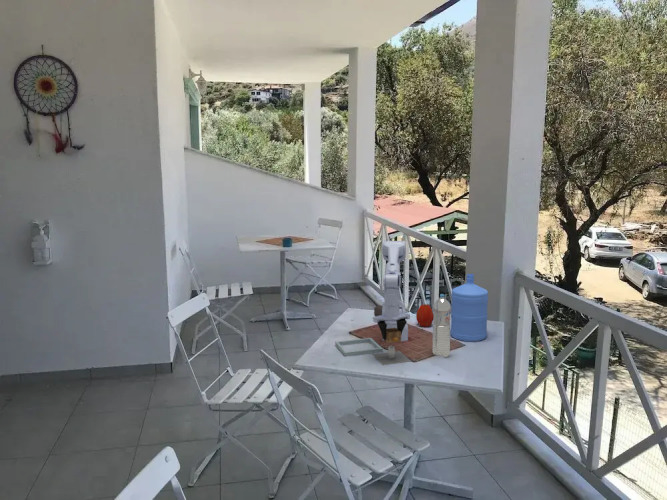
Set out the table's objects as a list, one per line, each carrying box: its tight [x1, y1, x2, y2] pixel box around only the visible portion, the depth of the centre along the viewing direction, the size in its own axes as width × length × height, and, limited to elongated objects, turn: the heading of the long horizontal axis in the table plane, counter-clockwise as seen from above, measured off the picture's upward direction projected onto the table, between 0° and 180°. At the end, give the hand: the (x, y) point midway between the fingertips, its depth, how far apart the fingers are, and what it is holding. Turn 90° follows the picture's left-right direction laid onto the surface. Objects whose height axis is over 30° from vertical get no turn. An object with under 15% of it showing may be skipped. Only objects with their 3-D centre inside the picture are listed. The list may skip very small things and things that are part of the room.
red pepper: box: [415, 303, 434, 328], centre depth 254 cm, size 8×8×11 cm
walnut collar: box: [381, 328, 402, 344], centre depth 209 cm, size 6×8×4 cm
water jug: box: [450, 273, 489, 342], centre depth 236 cm, size 16×16×28 cm
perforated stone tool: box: [373, 304, 383, 316], centre depth 263 cm, size 15×5×7 cm, turn 59°
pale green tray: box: [334, 337, 384, 358], centre depth 222 cm, size 16×14×2 cm
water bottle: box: [432, 293, 452, 358], centre depth 214 cm, size 7×7×25 cm
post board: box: [371, 345, 413, 366], centre depth 211 cm, size 12×12×6 cm
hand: (391, 338), depth 210 cm, fingers closed on walnut collar, 6 cm apart
